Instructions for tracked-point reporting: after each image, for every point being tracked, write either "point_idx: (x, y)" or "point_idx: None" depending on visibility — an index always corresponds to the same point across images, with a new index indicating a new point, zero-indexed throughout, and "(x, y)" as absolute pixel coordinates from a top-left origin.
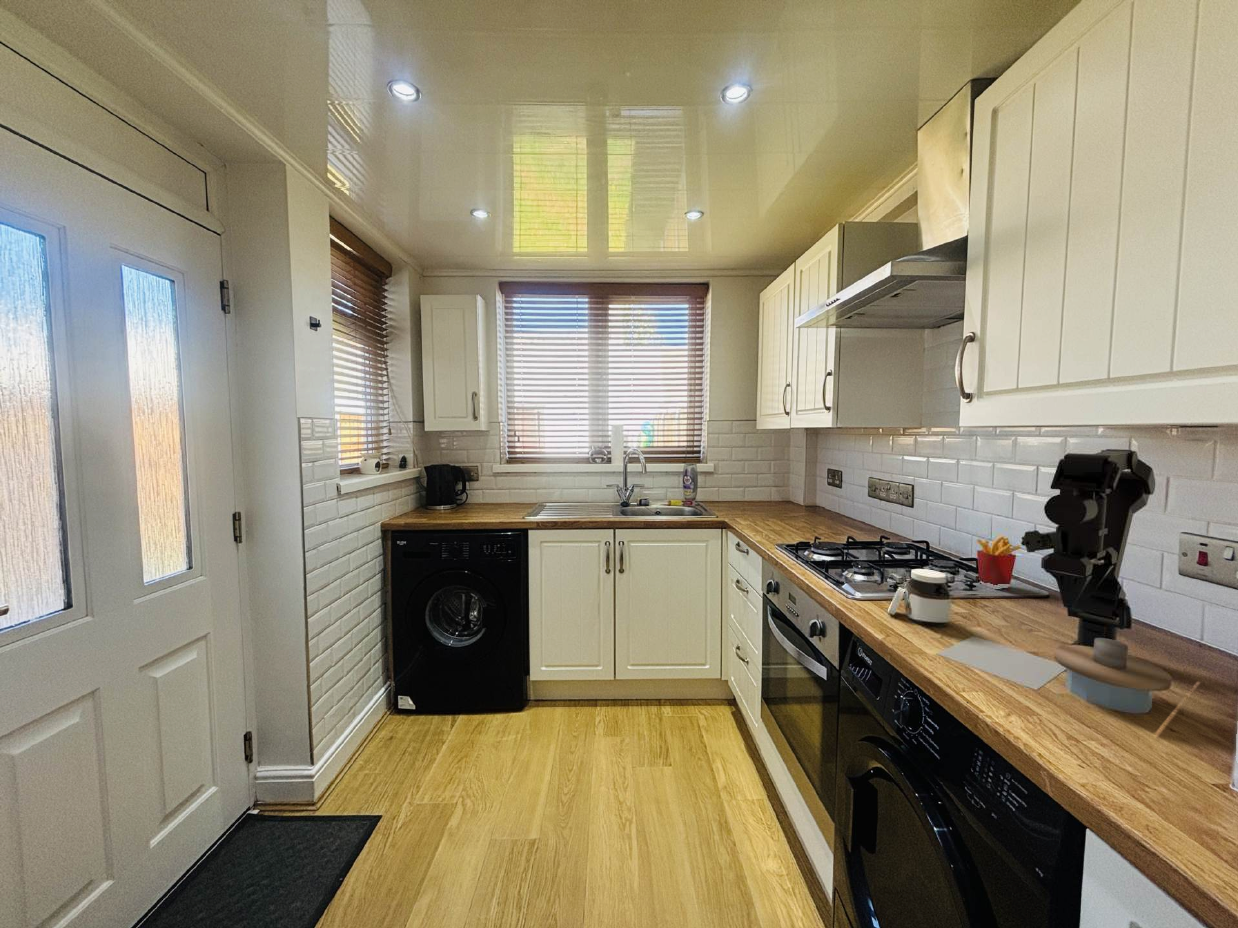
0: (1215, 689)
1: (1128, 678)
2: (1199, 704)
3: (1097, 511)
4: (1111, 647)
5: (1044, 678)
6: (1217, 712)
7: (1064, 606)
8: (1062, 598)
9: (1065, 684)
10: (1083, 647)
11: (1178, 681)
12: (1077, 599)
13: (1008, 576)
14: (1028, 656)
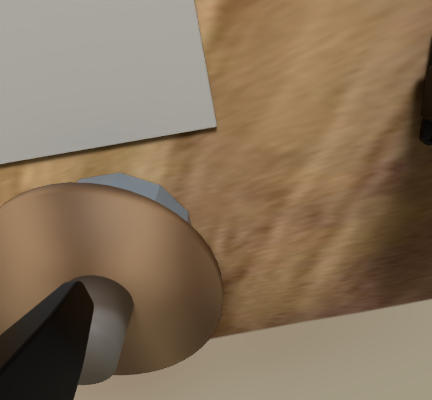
0: (401, 292)
1: None
2: (280, 303)
3: None
4: None
5: (51, 142)
6: (269, 321)
7: (64, 285)
8: (13, 330)
9: (78, 181)
10: (150, 227)
11: (387, 256)
12: (71, 390)
13: None
14: (165, 18)
